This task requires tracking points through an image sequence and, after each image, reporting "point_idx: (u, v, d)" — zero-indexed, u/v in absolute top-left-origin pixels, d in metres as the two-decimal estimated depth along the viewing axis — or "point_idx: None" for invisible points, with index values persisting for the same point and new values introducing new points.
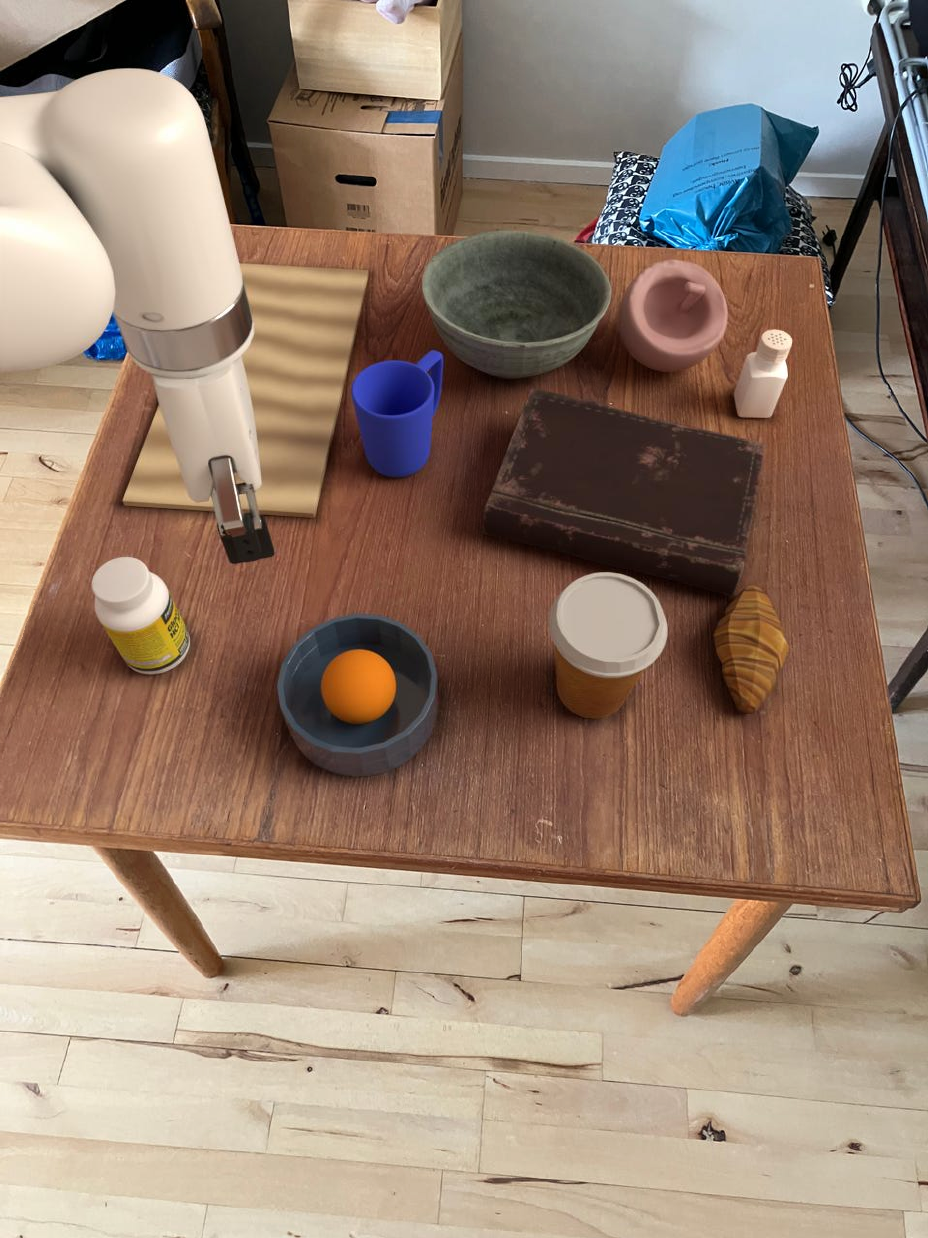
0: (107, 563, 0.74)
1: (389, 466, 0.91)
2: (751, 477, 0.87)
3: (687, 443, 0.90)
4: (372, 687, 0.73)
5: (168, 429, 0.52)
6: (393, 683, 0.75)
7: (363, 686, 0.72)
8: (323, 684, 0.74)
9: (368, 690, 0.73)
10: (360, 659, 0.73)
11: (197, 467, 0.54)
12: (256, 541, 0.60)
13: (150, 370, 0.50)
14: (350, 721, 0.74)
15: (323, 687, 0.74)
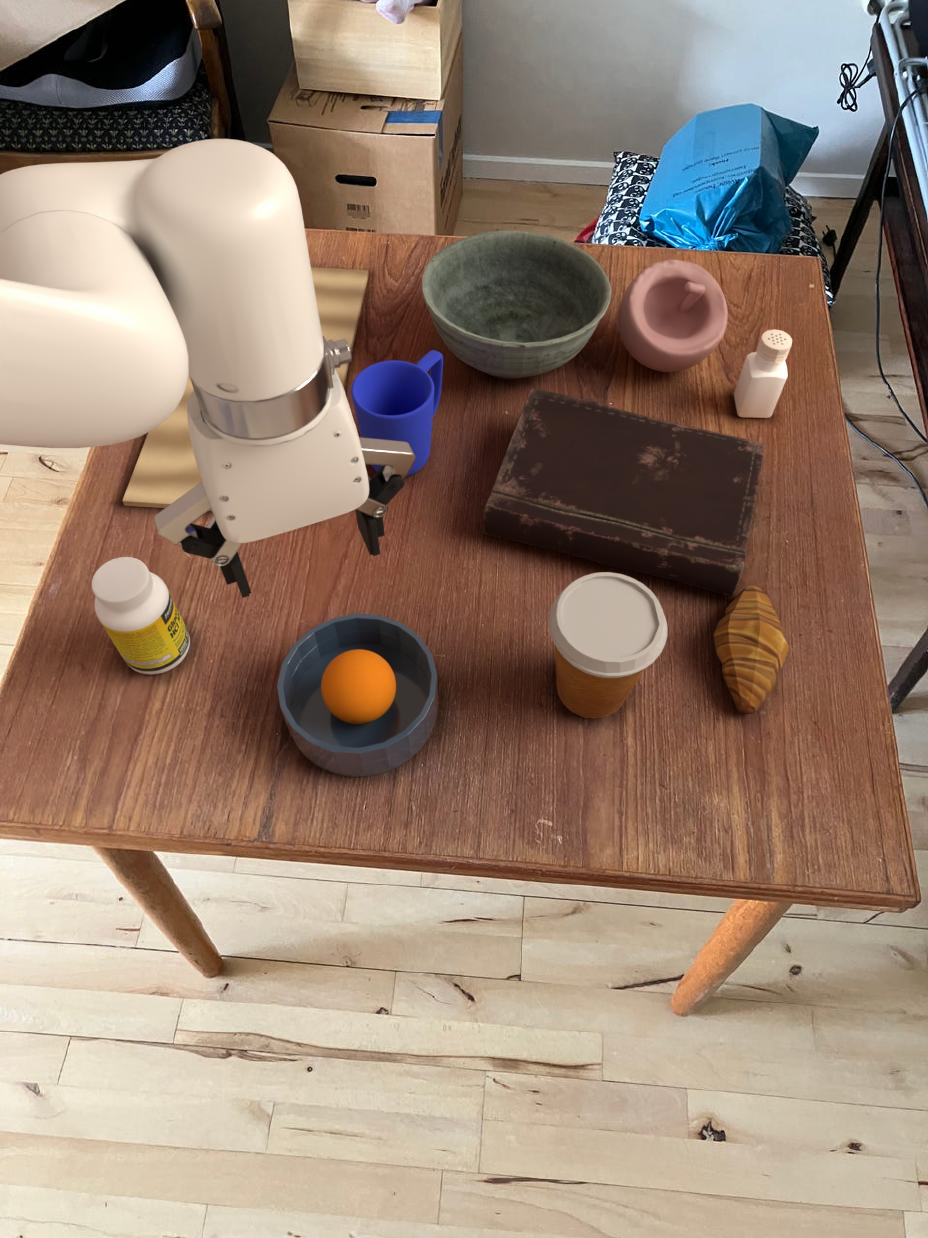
0: (107, 563, 0.74)
1: None
2: (751, 477, 0.87)
3: (687, 443, 0.90)
4: (372, 687, 0.73)
5: None
6: (393, 683, 0.75)
7: (363, 686, 0.72)
8: (323, 684, 0.74)
9: (368, 690, 0.73)
10: (360, 659, 0.73)
11: None
12: (221, 569, 0.60)
13: None
14: (350, 721, 0.74)
15: (323, 687, 0.74)
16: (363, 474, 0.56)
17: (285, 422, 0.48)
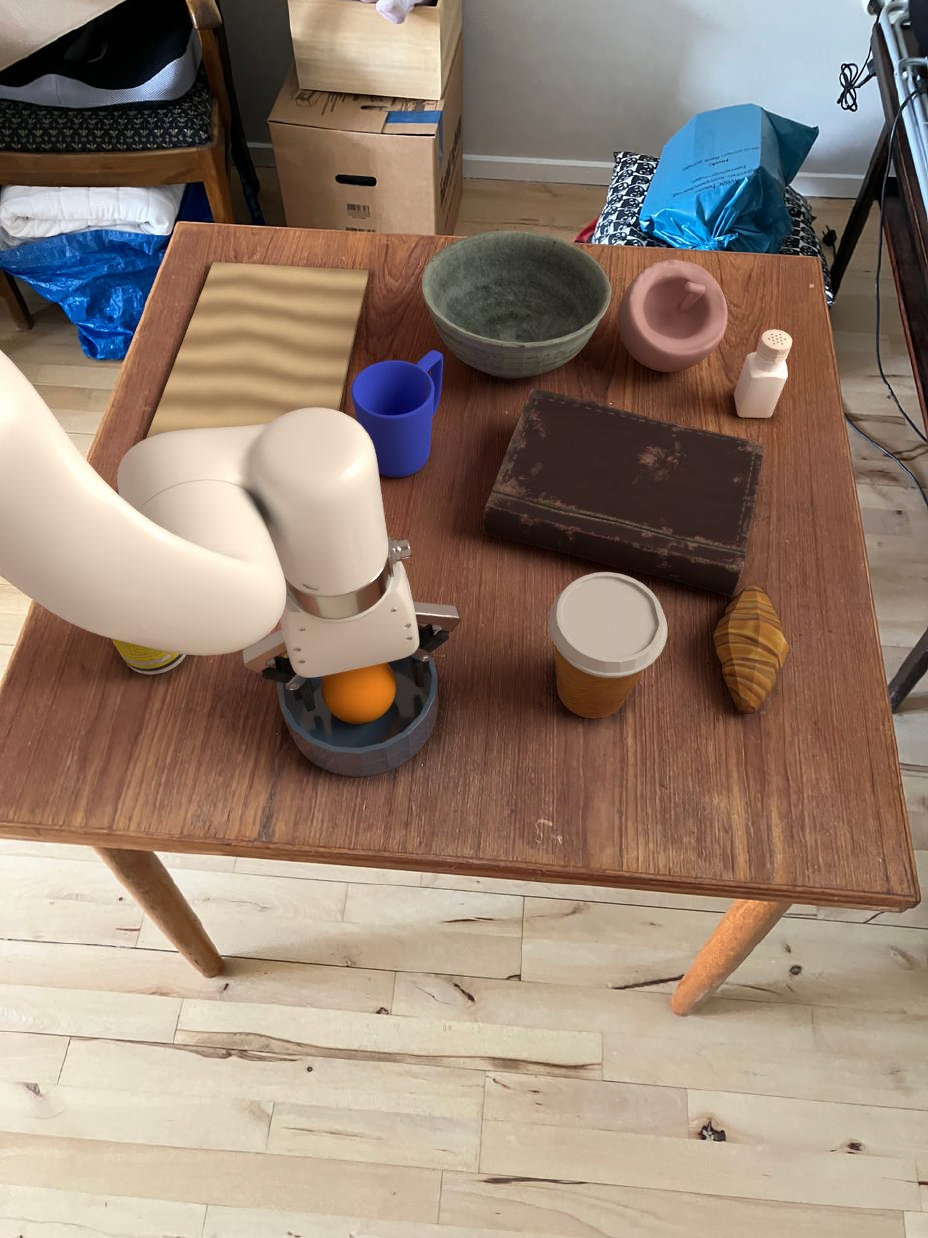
0: None
1: (389, 466, 0.91)
2: (751, 477, 0.87)
3: (688, 443, 0.90)
4: (372, 687, 0.73)
5: None
6: (393, 683, 0.75)
7: (363, 686, 0.72)
8: (323, 684, 0.74)
9: (368, 690, 0.73)
10: None
11: None
12: (292, 690, 0.72)
13: None
14: (350, 721, 0.74)
15: (323, 687, 0.74)
16: (414, 634, 0.67)
17: (350, 609, 0.59)
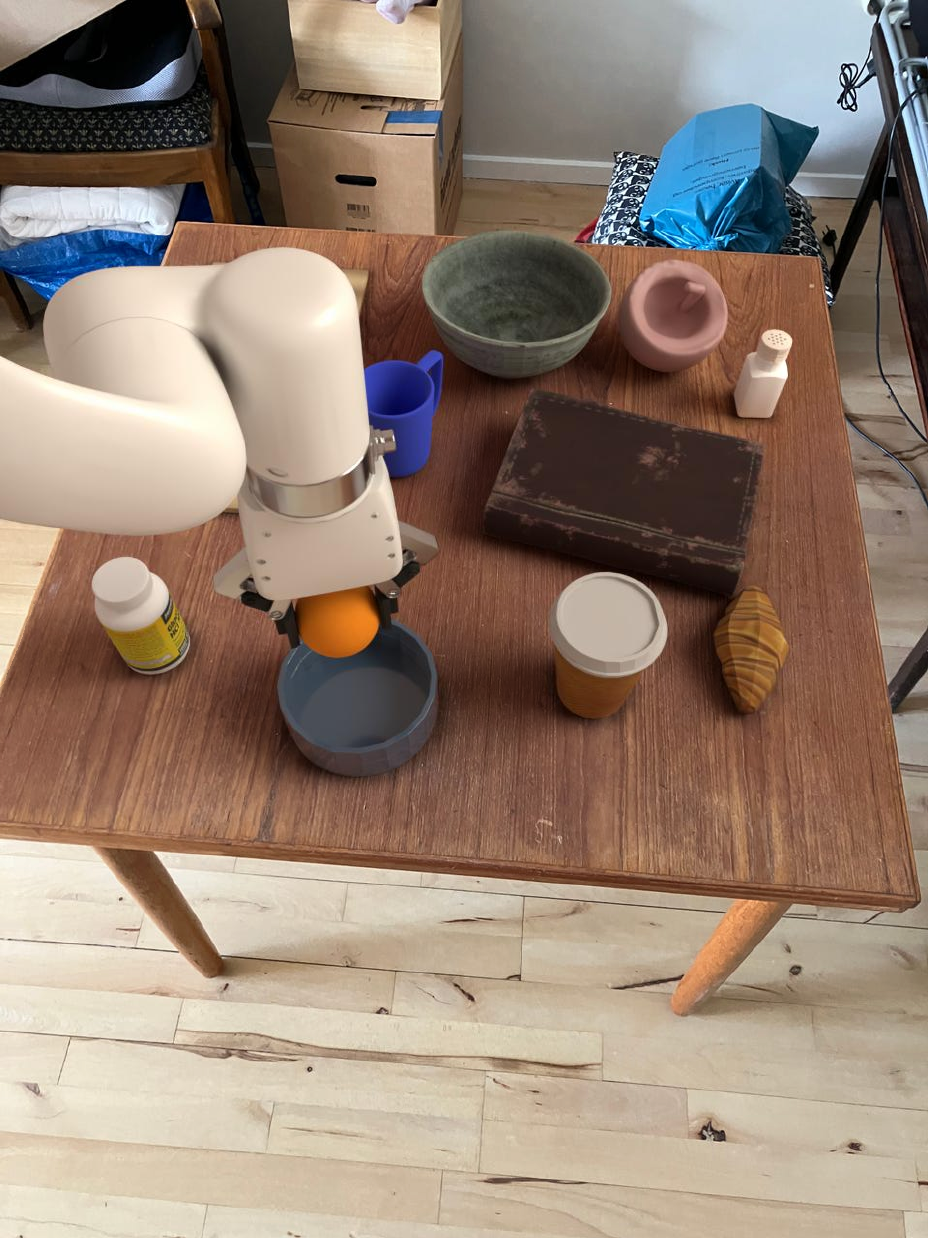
0: (107, 563, 0.74)
1: (389, 466, 0.91)
2: (751, 477, 0.87)
3: (687, 443, 0.90)
4: (357, 612, 0.64)
5: None
6: (378, 613, 0.66)
7: (348, 610, 0.63)
8: (299, 606, 0.64)
9: (353, 615, 0.63)
10: None
11: None
12: (275, 622, 0.64)
13: None
14: (326, 652, 0.65)
15: (299, 610, 0.64)
16: (397, 551, 0.58)
17: (323, 505, 0.50)
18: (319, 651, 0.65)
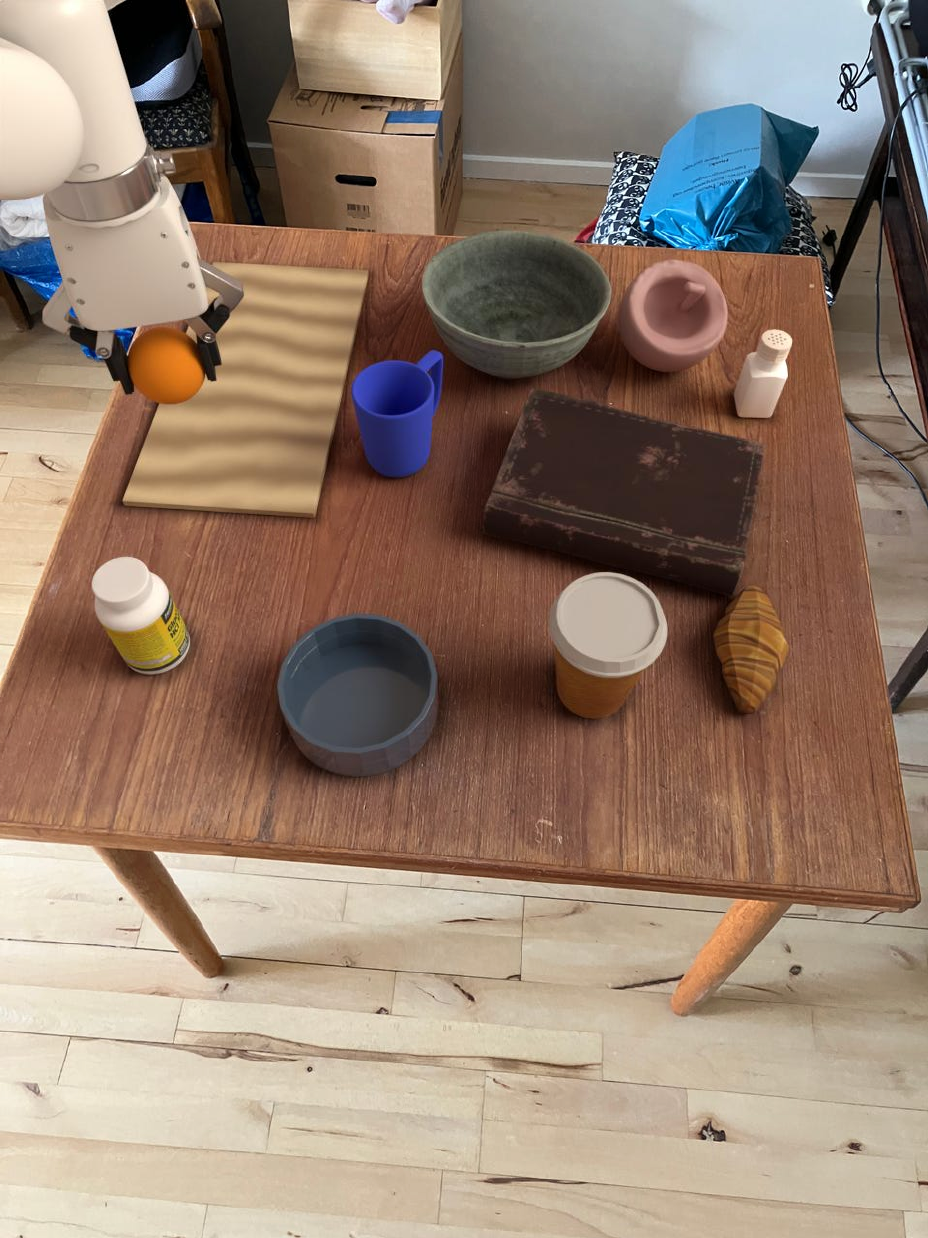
0: (107, 563, 0.74)
1: (389, 466, 0.91)
2: (751, 477, 0.87)
3: (688, 443, 0.90)
4: (177, 354, 0.73)
5: None
6: (201, 363, 0.75)
7: (168, 351, 0.72)
8: (129, 352, 0.74)
9: (173, 357, 0.73)
10: (169, 330, 0.74)
11: None
12: (106, 364, 0.73)
13: None
14: (153, 393, 0.74)
15: (128, 355, 0.74)
16: (196, 281, 0.67)
17: (105, 207, 0.59)
18: (148, 393, 0.74)
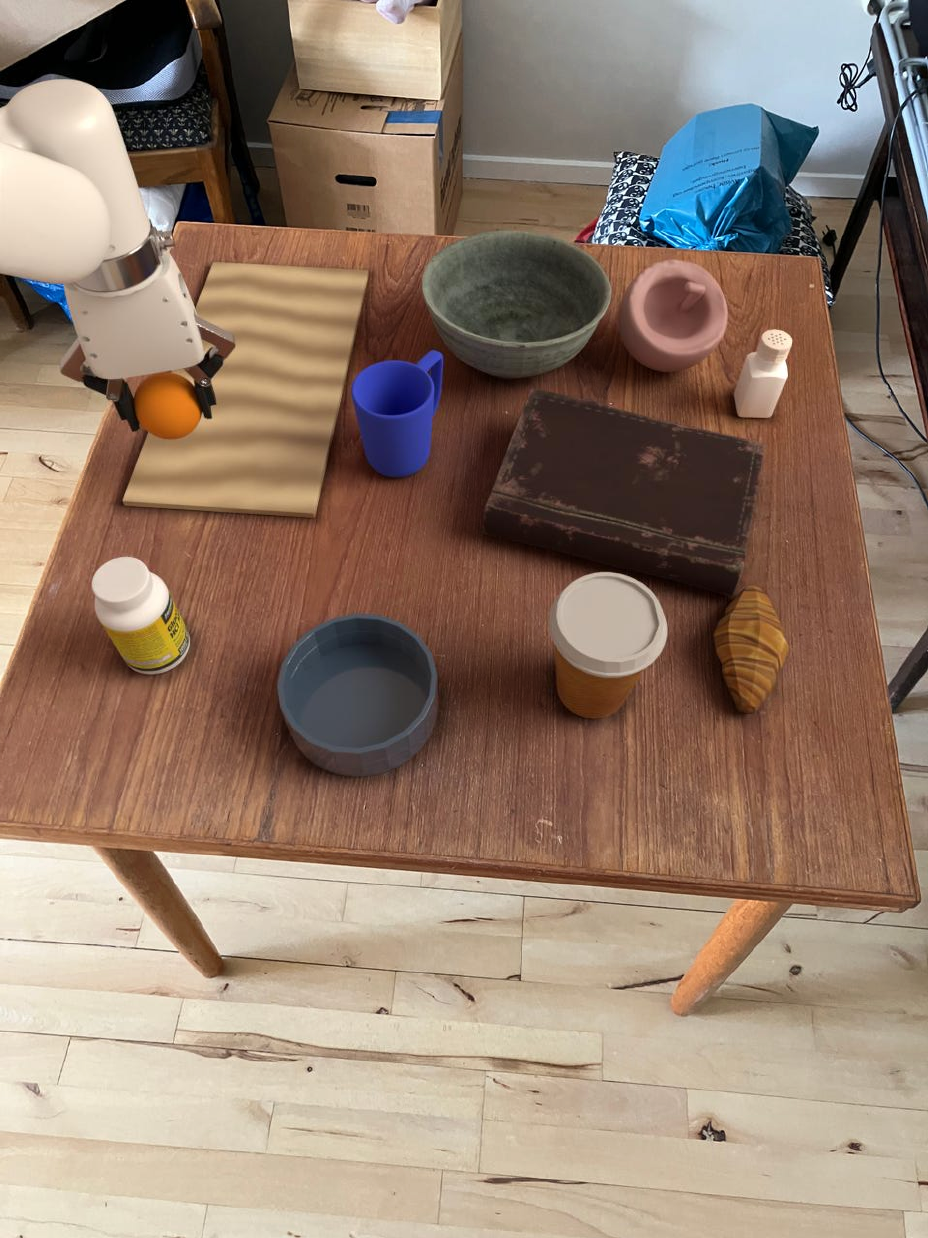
0: (107, 563, 0.74)
1: (389, 466, 0.91)
2: (751, 477, 0.87)
3: (687, 443, 0.90)
4: (177, 397, 0.83)
5: None
6: None
7: (170, 394, 0.83)
8: (135, 395, 0.84)
9: (174, 399, 0.83)
10: (170, 375, 0.84)
11: None
12: (115, 406, 0.83)
13: None
14: (156, 430, 0.84)
15: (134, 397, 0.84)
16: (194, 337, 0.78)
17: (116, 281, 0.70)
18: (152, 431, 0.84)
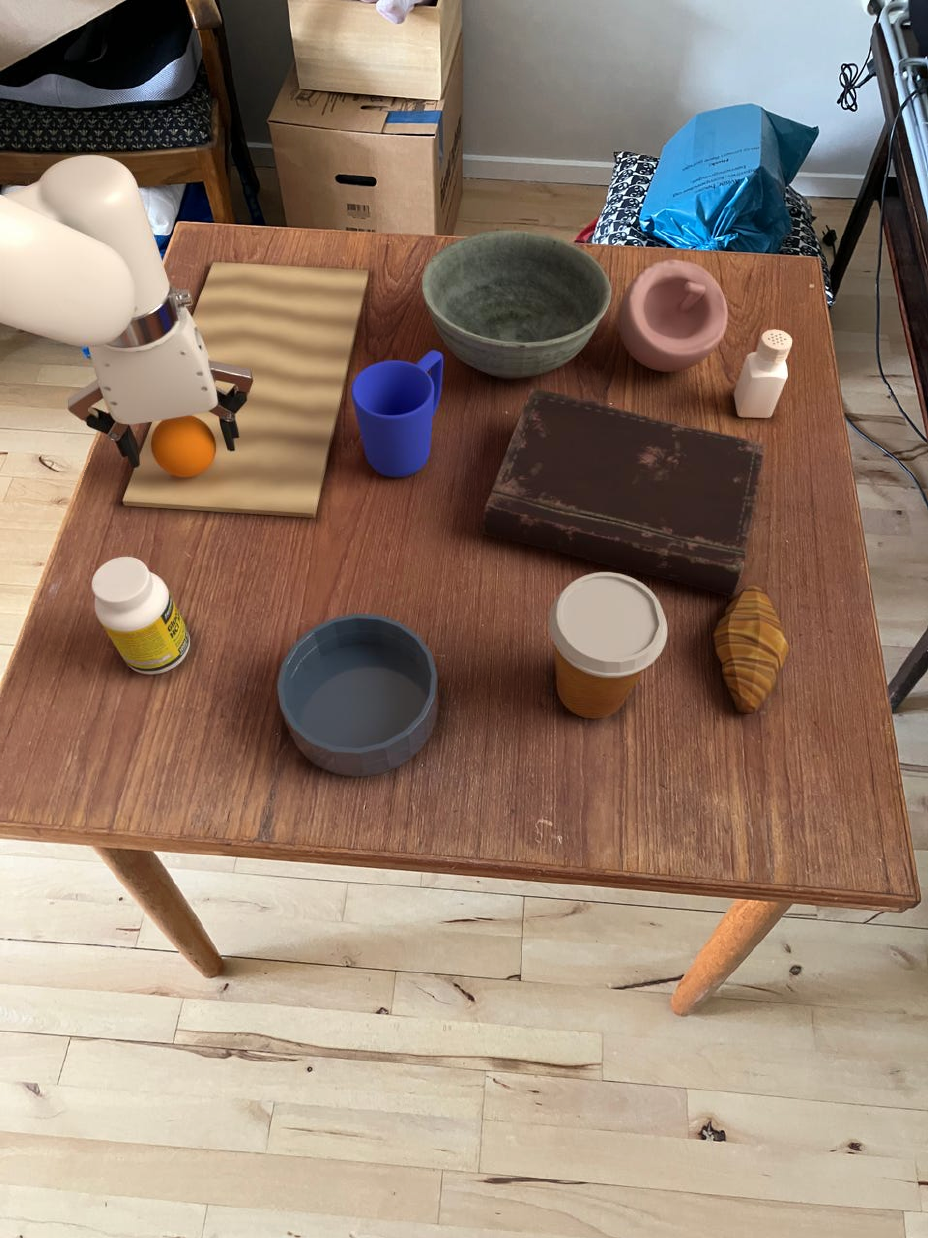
0: (107, 563, 0.74)
1: (389, 466, 0.91)
2: (751, 477, 0.87)
3: (688, 443, 0.90)
4: (193, 437, 0.88)
5: None
6: (213, 443, 0.90)
7: (186, 435, 0.88)
8: (153, 435, 0.89)
9: (190, 439, 0.88)
10: (187, 417, 0.89)
11: None
12: (116, 444, 0.87)
13: None
14: (172, 468, 0.89)
15: (152, 437, 0.89)
16: (208, 385, 0.82)
17: (137, 337, 0.74)
18: (168, 468, 0.89)
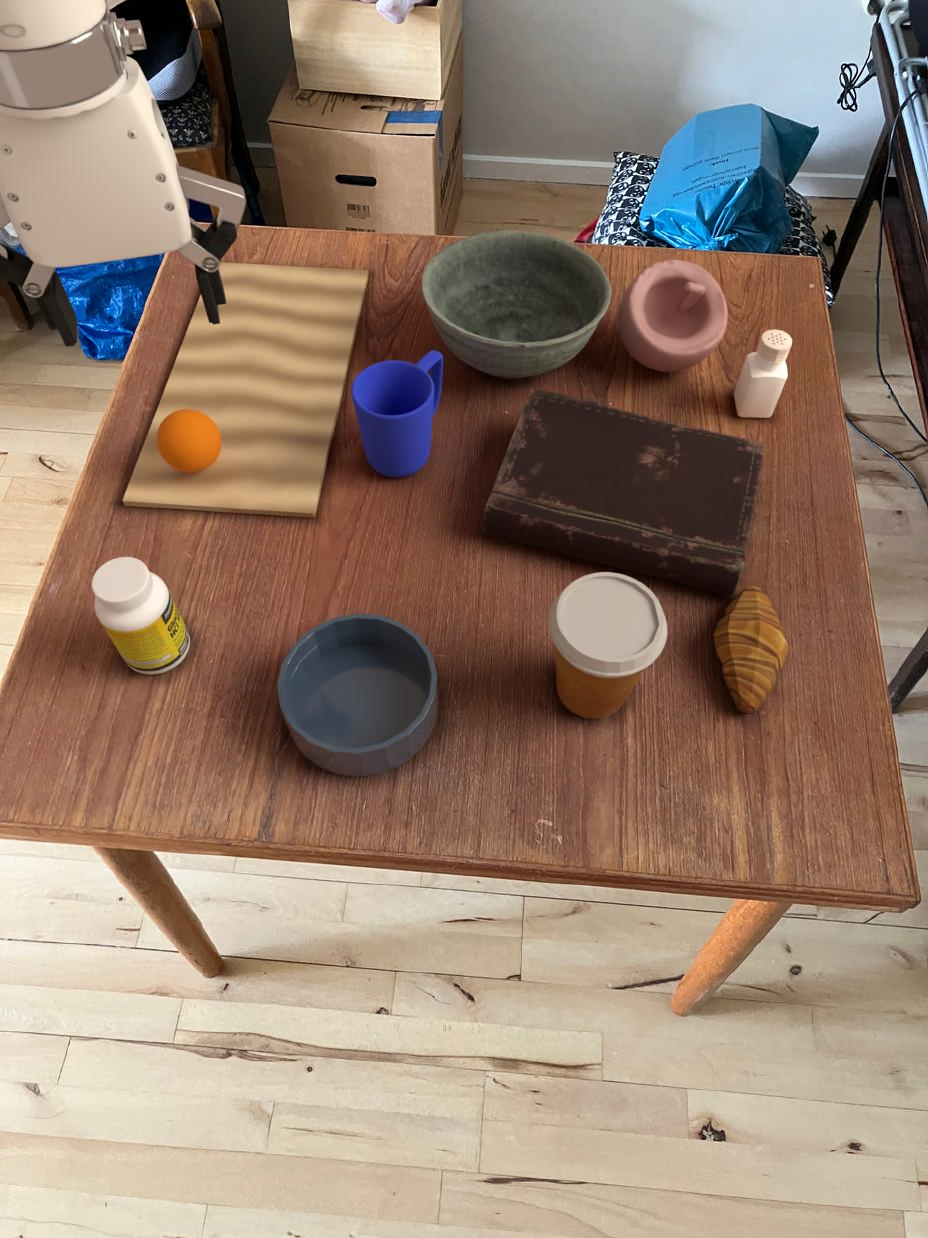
0: (107, 563, 0.74)
1: (389, 466, 0.91)
2: (751, 477, 0.87)
3: (687, 443, 0.90)
4: (203, 429, 0.89)
5: None
6: (220, 441, 0.91)
7: (197, 425, 0.88)
8: (161, 424, 0.89)
9: (200, 430, 0.88)
10: (198, 411, 0.90)
11: None
12: (39, 306, 0.57)
13: None
14: (177, 457, 0.89)
15: (160, 426, 0.89)
16: (176, 201, 0.53)
17: (51, 89, 0.45)
18: (171, 458, 0.89)
